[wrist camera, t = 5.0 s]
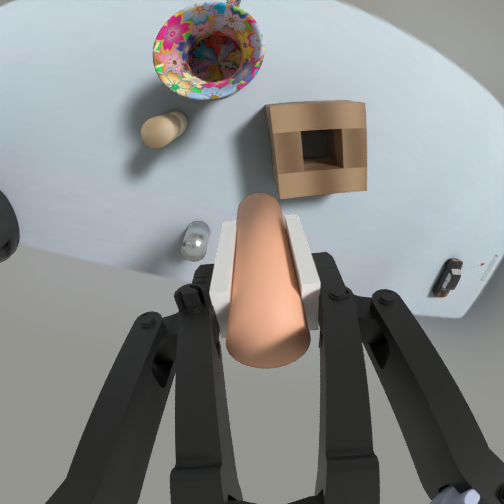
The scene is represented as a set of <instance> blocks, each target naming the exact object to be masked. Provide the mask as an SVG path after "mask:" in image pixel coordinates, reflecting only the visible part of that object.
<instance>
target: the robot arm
mask: <svg viewBox="0 0 504 504" xmlns="http://www.w3.org/2000/svg"><path fill="white" fill-rule="evenodd" d="M285 225H286V232H287V236H288V241H289V245H290V249H291V254H292V258H293V263H294V267H295V272H296V276H297V281H298V285H299V290H300V295H301V300H302V302H303V305H304V309H305V313H306V318H307V323H308V328H309V331H310V330H318V324H319V326H320V340H319V348H320V432H319V456H318V472H317V480H316V487H315V496H311V497H307V498H304V499H301V500H298V501H295V502H292V503H288V504H380V485H379V484H380V480H379V479H380V478H379V462H378V458H377V456H376V455H375V454H374V451H373V441H372V427H371V413H370V404H369V393H368V384H367V376H366V369H365V361H364V354H363V348H362V343H363V344H364V346H365V348H366V351H367V353H368V355H369V357H370V359H371V361H372V364H373V366H374V368H375V370H376V372H377V375H378V377H379V379H380V381H381V384H382V386H383V388H384V390H385V393H386V395H387V397H388V400H389V402H390V404H391V407H392V409H393V411H394V414H395V416H396V419H397V421H398V423H399V426H400V428H401V431H402V433H403V436H404V439H405V441H406V444H407V446H408V449H409V451H410V454H411V457H412V459H413V462H414V465H415V468H416V470H417V473H418V476H419V478H420V481H421V483H422V486H423V488H424V490H425V491H426V493H427V494H428V496H429V498H430V499H431V500H432V501H431V503H430V504H504V463H503V462H502V461H501V460H500V459H499V458H498V457H497V456H496V455H495V454H494V453H493V452H492V451H491V450H490V449H489V447H488V445H487V443H486V440H485V438H484V436H483V434H482V432H481V430H480V428H479V426H478V424H477V422H476V420H475V418H474V416H473V414H472V412H471V410H470V408H469V406H468V404H467V403H466V401H465V399H464V397H463V395H462V393H461V392H460V390H459V388H458V386H457V384H456V383H455V381H454V379H453V377H452V376H451V374H450V372H449V371H448V369H447V367H446V366H445V364H444V362H443V361H442V359H441V357H440V356H439V354H438V352H437V351H436V349H435V348H434V346H433V345H432V343H431V341H430V340H429V338H428V337H427V335H426V334H425V332H424V331H423V329H422V328H421V326H420V325H419V323H418V322H417V320H416V319H415V317H414V316H413V314H412V313H411V311H410V310H409V308H408V307H407V306H406V304H405V303H404V301H403V300H402V299H401V297H400V296H399V295H398V294H397V293H396V292H394V291H392V290H387V289H382V290H378V291H376V292H375V293H374V294H373V295H372V298H369V297H361V296H356V295H354V294H353V293H352V291H351V290H350V289H349V288H348V287H345V285H344V282H343V280H342V277H341V275H340V273H339V270H338V268H337V266H336V264H335V261H334V259H333V257H332V256H331V255H330V254H328V253H327V252H321V253H311V252H310V249H309V246H308V243H307V240H306V237H305V234H304V231H303V228H302V225H301V222H300V219H299V217H298V214H293V215H285ZM236 235H237V226H236V220H233V221H224V222H223V224H222V228H221V233H220V238H219V244H218V249H217V254H216V259H215V264H205V265H200V266H199V267H198V268H197V270H196V271H195V274H194V277H193V278H194V279H193V281H192V284H187V285H184V286H182V287H180V288H179V289H178V290H177V291H176V292H175V294H174V298H175V301H176V304H177V306H178V309H179V312H178V313H176V314H173V315H170V316H167V317H164V318H162V317H161V315H160V314H159V313H158V312H146V313H144V314H142V315H140V316H139V317H138V318H137V319H136V320H135V322H134V324H133V326H132V328H131V330H130V332H129V334H128V336H127V338H126V340H125V342H124V344H123V346H122V348H121V350H120V352H119V354H118V356H117V358H116V360H115V362H114V364H113V366H112V368H111V370H110V373H109V375H108V377H107V379H106V381H105V383H104V386H103V388H102V390H101V392H100V394H99V397H98V399H97V401H96V403H95V406H94V408H93V410H92V413H91V415H90V418H89V420H88V422H87V425H86V427H85V430H84V432H83V435H82V437H81V440H80V442H79V445H78V447H77V450H76V453H75V455H74V458H73V461H72V463H71V466H70V469H69V472H68V475H67V478H66V479H65V480H64V482H63V483H62V484H61V485H60V487H59V488H58V489H57V490H56V491H55V493H54V494H53V495H52V496H51V497H50V499H49V500H48V501H47V502H46V503H45V504H137V503H138V500H139V497H140V493H141V489H142V485H143V482H144V478H145V474H146V471H147V467H148V463H149V460H150V456H151V453H152V449H153V445H154V442H155V438H156V435H157V431H158V428H159V424H160V421H161V418H162V415H163V411H164V408H165V405H166V401H167V398H168V395H169V392H170V388H171V385H172V382H173V378H174V376H175V373H176V385H175V446H176V447H175V448H176V465H175V467H174V468H173V469H172V471H171V474H170V494H171V504H255V503H250V502H245V501H243V498H242V492H241V489H240V486H239V483H238V479H237V472H236V466H235V459H234V452H233V445H232V438H231V432H230V431H231V430H230V423H229V415H228V407H227V399H226V390H225V382H224V372H223V363H222V353H221V345H220V342H219V332H220V334H221V338H226V334H227V322H228V310H229V307H230V304H231V293H232V281H233V269H234V258H235V246H236ZM18 243H19V228H18V223H17V219H16V216H15V213H14V211H13V208H12V206H11V204H10V203H9V201H8V199H7V198H6V196H5V195H4V194H3V193H2V192H1V191H0V262H3V261H5V260H7V259H8V258H9V257H10V256H11V255H12V254H13V253H14V252H15V251H16V249H17V247H18Z"/></svg>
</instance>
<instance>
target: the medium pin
mask: <svg viewBox="0 0 504 504" xmlns="http://www.w3.org/2000/svg"><path fill="white" fill-rule="evenodd" d="M187 126H188V120H187V118H186V116H185V115H184V114H183V113H181V112H178V111H173V112H169V113H166V114H162V115H159V116H156V117H153V118H150V119H148V120H147V121H146V122H145V123H144V124H143V126H142V128H141V138H142V141H143V142H144V144H145V145H146V146H148V147H150V148H153V149H159V148H162V147H164V146H166V145H167V144H168V143H170V142H171V141H173V140H174V139H176V138H177V137H179V136H180V135H181V134H183V133H184V132H185V131H186V129H187Z"/></svg>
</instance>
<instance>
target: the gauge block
mask: <svg viewBox="0 0 504 504" xmlns="http://www.w3.org/2000/svg"><path fill="white" fill-rule="evenodd" d="M265 106H266V113H267V121H268V129H269V137H270V145H271V154H272V162H273V171H274V180H275V185H276V188H277V191H278V194H279V197H280V199H286V198H295V197H304V196H313V195H323V194H334V193H345V192H356V191H367V132H366V110H365V103H362V102H355V101H347V100H334V101H306V102H291V103H279V104H268V105H265ZM325 129H327V137H328V154H329V156H323V157H310V158H303V151H302V140H301V131H308V130H325Z"/></svg>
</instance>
